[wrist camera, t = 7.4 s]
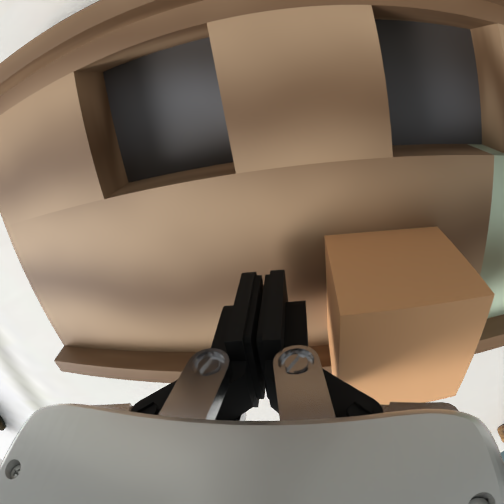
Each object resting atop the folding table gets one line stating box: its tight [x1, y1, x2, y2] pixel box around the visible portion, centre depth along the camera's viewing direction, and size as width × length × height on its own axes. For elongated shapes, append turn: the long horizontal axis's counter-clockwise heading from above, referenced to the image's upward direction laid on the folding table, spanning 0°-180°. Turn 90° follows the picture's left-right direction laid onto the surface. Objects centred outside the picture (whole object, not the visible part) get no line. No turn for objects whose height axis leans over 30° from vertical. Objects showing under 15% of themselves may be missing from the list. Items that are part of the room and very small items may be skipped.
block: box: [324, 226, 495, 405], centre depth 11 cm, size 5×5×5 cm
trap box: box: [0, 0, 504, 383], centre depth 12 cm, size 18×34×4 cm, turn 100°
